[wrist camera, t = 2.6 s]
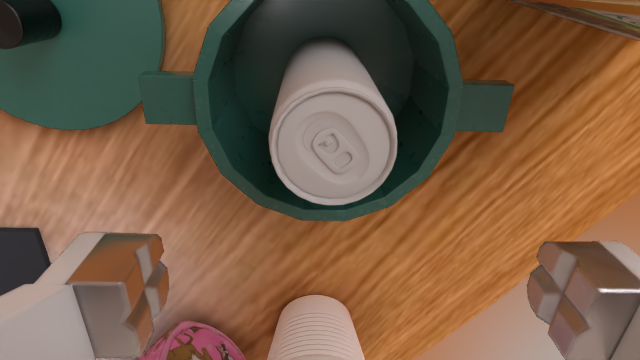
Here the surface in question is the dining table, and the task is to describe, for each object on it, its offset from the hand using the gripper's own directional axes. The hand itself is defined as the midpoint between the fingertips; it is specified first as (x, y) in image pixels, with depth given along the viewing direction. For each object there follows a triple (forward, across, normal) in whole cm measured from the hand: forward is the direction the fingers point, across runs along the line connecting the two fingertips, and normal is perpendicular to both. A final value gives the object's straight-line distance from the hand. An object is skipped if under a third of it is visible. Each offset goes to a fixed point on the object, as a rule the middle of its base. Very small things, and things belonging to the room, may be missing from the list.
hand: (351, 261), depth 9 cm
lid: (+18, -16, +3) cm, 24 cm away
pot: (+19, 0, 0) cm, 19 cm away
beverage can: (+18, 0, 0) cm, 19 cm away
